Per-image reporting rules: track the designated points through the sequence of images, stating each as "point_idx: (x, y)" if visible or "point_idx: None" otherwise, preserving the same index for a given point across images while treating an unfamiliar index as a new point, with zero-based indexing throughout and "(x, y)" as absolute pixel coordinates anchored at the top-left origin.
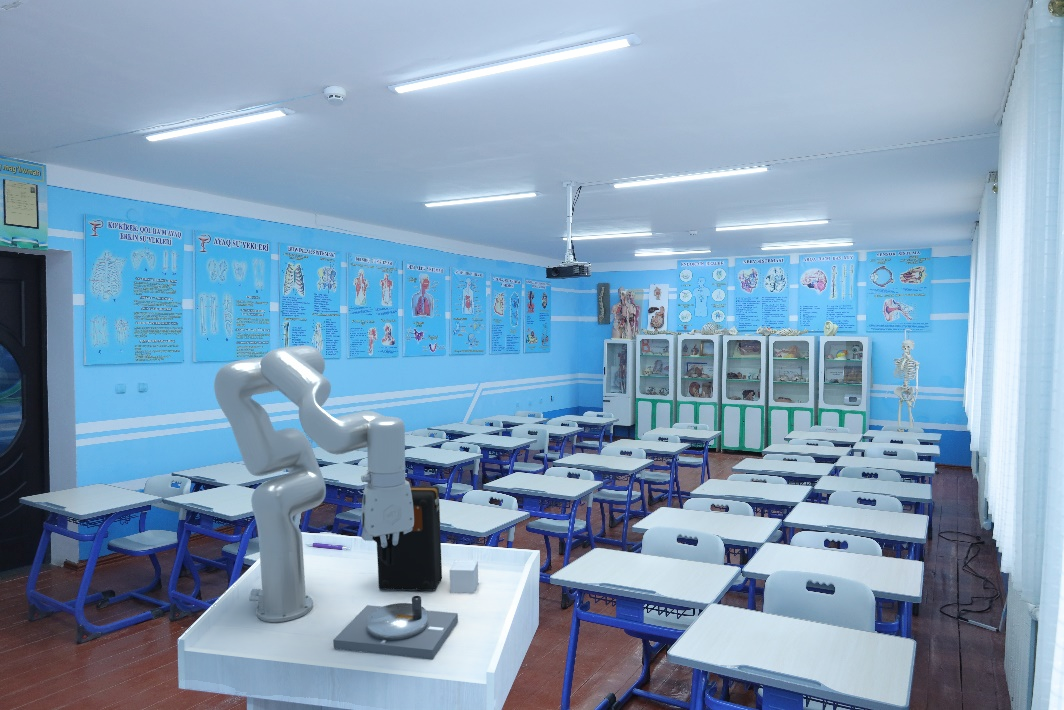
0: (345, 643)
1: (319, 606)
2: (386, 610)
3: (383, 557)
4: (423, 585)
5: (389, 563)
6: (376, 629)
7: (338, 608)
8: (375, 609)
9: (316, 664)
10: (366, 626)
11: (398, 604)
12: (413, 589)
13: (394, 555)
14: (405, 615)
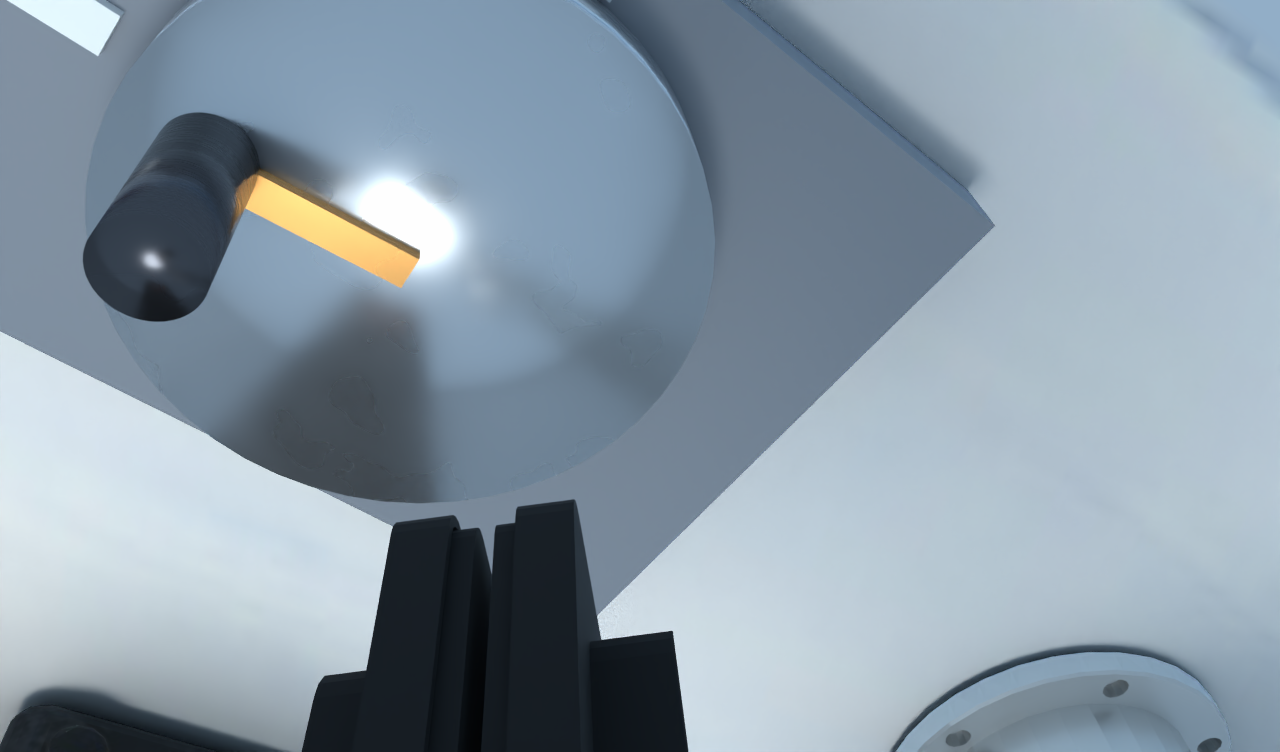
0: (909, 151)
1: (852, 745)
2: (486, 418)
3: (645, 680)
4: (104, 747)
5: (506, 531)
6: (664, 106)
7: (751, 691)
8: None
9: (1173, 7)
10: None
11: (359, 477)
12: (196, 746)
13: (346, 711)
14: (326, 239)
